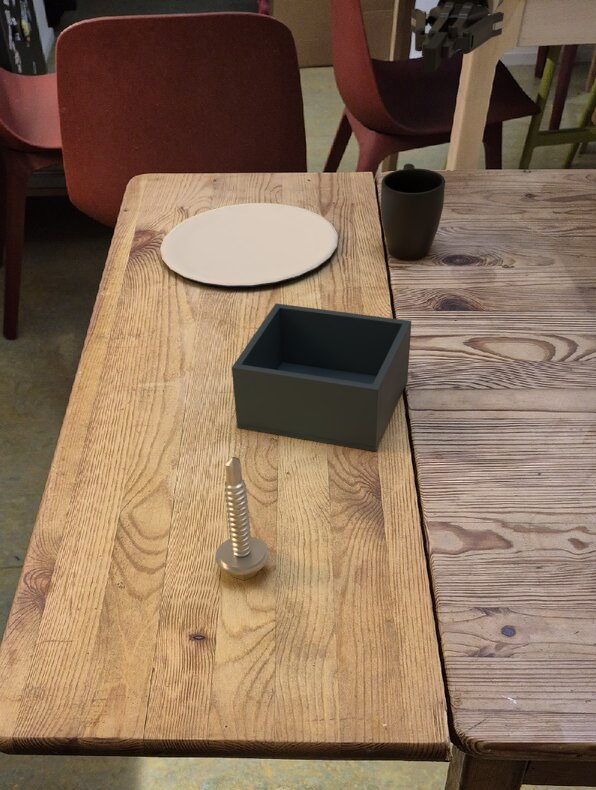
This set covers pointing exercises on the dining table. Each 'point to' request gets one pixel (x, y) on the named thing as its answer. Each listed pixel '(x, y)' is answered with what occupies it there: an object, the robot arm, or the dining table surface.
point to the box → (322, 375)
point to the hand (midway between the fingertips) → (429, 60)
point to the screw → (239, 530)
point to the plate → (249, 244)
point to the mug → (411, 210)
